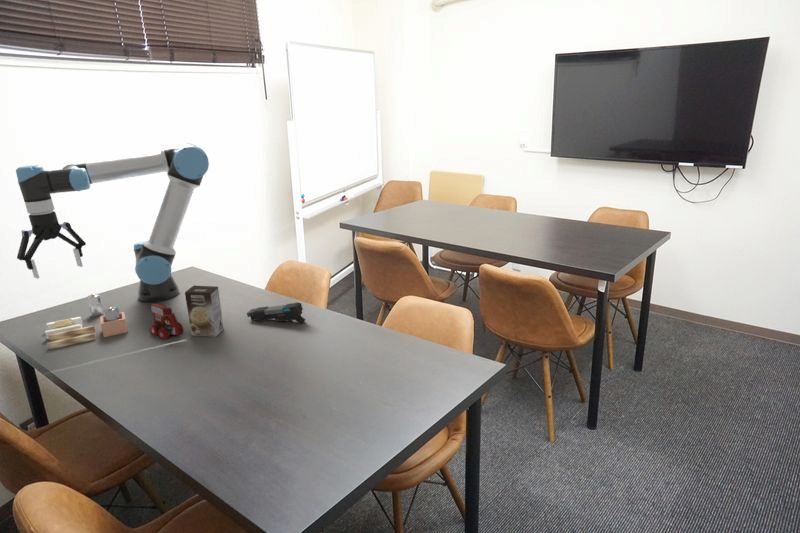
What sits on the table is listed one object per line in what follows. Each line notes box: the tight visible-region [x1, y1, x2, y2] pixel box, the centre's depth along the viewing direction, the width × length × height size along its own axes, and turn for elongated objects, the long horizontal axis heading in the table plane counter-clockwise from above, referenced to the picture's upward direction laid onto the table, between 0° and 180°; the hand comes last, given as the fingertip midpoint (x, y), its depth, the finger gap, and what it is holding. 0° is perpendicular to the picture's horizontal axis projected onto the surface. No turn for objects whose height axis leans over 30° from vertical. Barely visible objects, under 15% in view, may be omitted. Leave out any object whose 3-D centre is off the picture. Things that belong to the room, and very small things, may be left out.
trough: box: [46, 325, 97, 350], centre depth 162 cm, size 13×8×3 cm, turn 121°
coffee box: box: [184, 285, 224, 338], centre depth 164 cm, size 9×6×16 cm
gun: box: [246, 302, 306, 325], centre depth 174 cm, size 4×20×10 cm, turn 78°
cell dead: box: [103, 306, 120, 322], centre depth 167 cm, size 4×4×9 cm
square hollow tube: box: [99, 311, 129, 338], centre depth 167 cm, size 7×7×6 cm
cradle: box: [44, 316, 83, 340], centre depth 168 cm, size 10×9×3 cm
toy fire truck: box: [149, 303, 184, 340], centre depth 164 cm, size 7×12×10 cm, turn 57°
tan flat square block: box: [54, 318, 72, 329], centre depth 168 cm, size 5×5×1 cm
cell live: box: [87, 293, 105, 317], centre depth 181 cm, size 4×4×9 cm
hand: (59, 271), depth 171 cm, fingers open, 13 cm apart
